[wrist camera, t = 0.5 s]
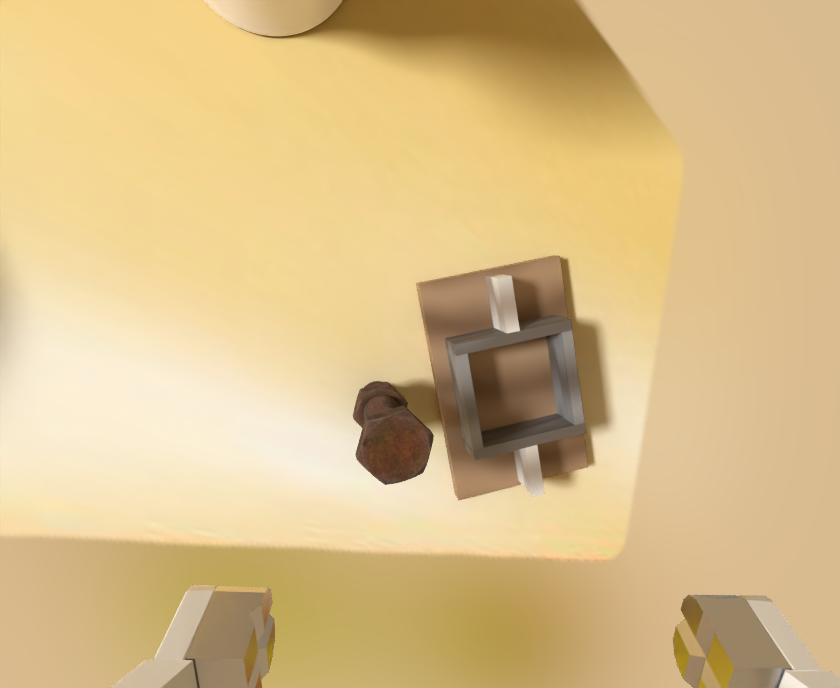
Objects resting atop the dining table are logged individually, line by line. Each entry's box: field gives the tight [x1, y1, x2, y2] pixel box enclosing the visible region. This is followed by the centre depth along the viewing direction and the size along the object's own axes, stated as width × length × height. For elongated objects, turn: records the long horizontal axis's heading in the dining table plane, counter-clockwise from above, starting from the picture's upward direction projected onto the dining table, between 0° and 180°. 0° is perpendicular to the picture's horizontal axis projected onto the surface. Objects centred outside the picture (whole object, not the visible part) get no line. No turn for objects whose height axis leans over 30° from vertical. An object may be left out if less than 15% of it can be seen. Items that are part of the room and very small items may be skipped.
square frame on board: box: [416, 256, 588, 500], centre depth 55 cm, size 22×14×6 cm, turn 11°
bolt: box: [353, 381, 434, 485], centre depth 48 cm, size 6×5×15 cm
